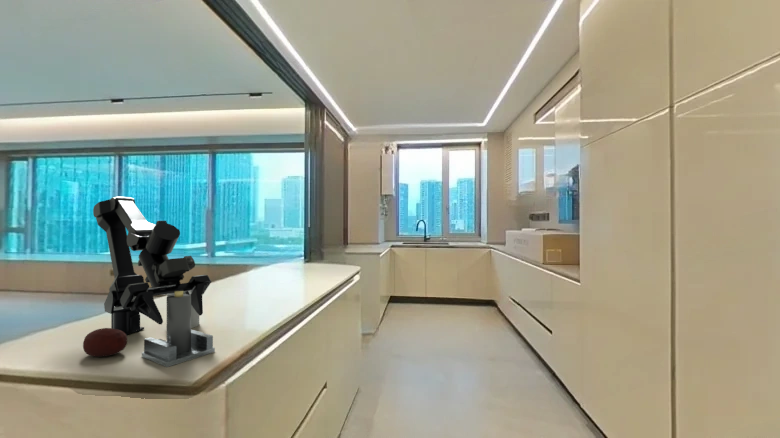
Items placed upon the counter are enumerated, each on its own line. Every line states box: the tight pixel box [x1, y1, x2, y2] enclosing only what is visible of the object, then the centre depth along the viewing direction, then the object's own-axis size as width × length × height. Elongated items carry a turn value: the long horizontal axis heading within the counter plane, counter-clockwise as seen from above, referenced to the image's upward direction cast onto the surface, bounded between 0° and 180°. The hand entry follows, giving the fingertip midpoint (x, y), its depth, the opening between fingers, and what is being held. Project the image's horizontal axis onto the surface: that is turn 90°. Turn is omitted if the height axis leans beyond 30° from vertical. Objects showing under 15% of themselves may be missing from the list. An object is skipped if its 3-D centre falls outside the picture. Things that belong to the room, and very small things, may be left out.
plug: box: [157, 291, 192, 354], centre depth 89 cm, size 12×5×14 cm, turn 58°
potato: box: [82, 327, 128, 358], centre depth 87 cm, size 7×10×6 cm
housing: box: [141, 329, 216, 368], centre depth 88 cm, size 11×11×4 cm
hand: (182, 318), depth 87 cm, fingers open, 9 cm apart
